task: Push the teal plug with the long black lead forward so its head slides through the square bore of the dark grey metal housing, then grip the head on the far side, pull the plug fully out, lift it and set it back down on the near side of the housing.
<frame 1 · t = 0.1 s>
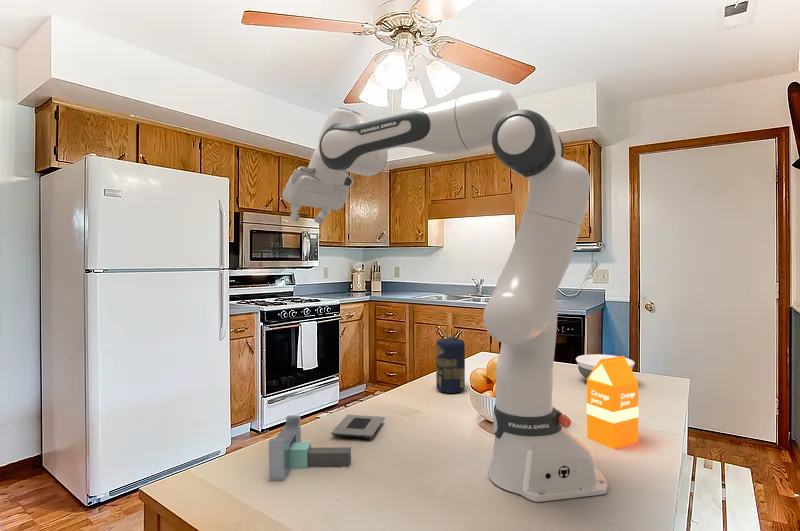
hand: (306, 221, 120), 54 cm above the table, tool tilted 30°, fingers open, 8 cm apart
plug: (300, 464, 101), on the table
housing: (286, 463, 101), on the table
electrical outlet: (359, 433, 120), on the table
bowl: (604, 384, 161), on the table
orange juice: (612, 440, 112), on the table
canister: (450, 391, 155), on the table
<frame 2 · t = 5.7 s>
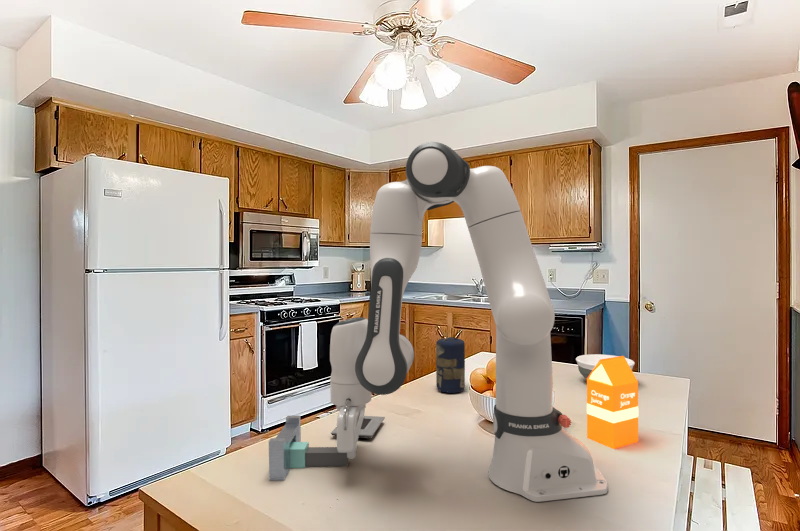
hand: (351, 455, 101), 2 cm above the table, tool pointing down, fingers closed, pressing on plug
plug: (297, 463, 101), on the table, touching gripper
everything else where it was.
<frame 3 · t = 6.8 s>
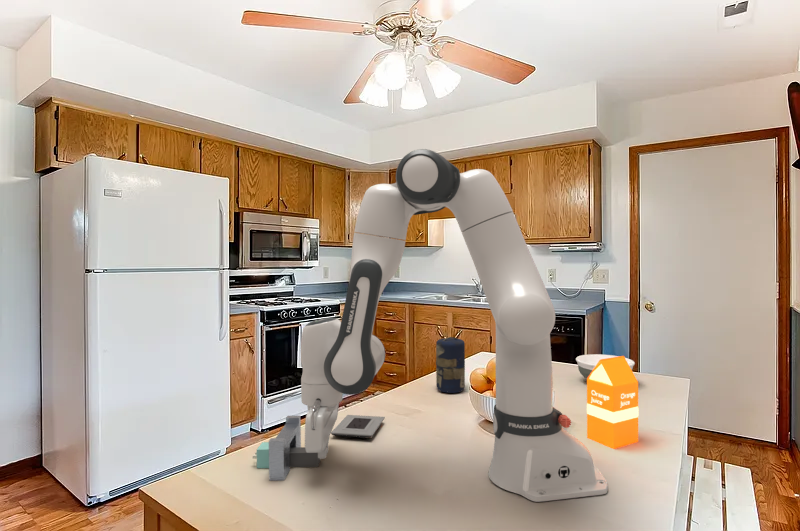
hand: (323, 455, 101), 2 cm above the table, tool pointing down, fingers closed, pressing on plug
plug: (268, 464, 101), on the table, touching gripper
everything else where it was.
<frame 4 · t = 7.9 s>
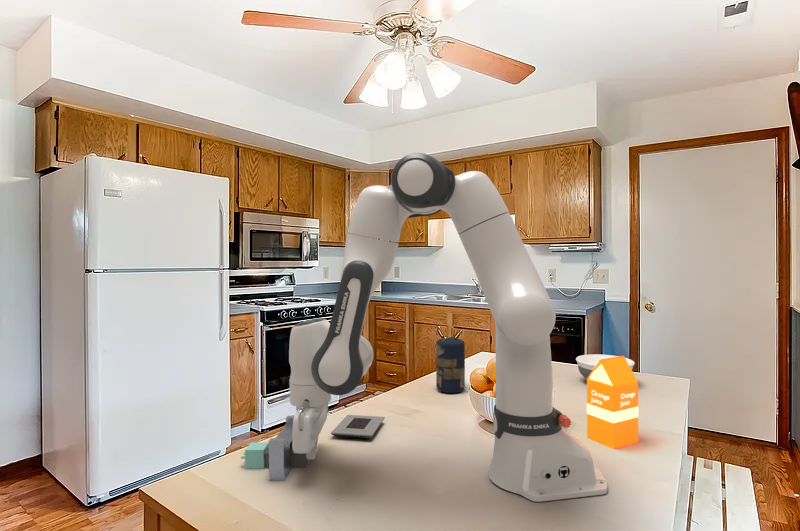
hand: (311, 456, 101), 2 cm above the table, tool pointing down, fingers closed, pressing on plug
plug: (257, 464, 101), on the table, touching gripper
everything else where it was.
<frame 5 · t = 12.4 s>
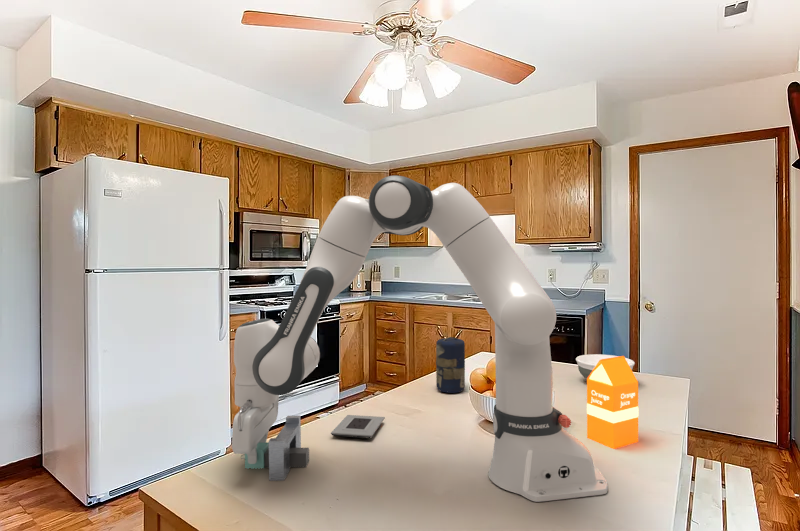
hand: (257, 456, 101), 2 cm above the table, tool pointing down, fingers closed on plug, 4 cm apart
plug: (257, 464, 101), on the table, touching gripper
everything else where it was.
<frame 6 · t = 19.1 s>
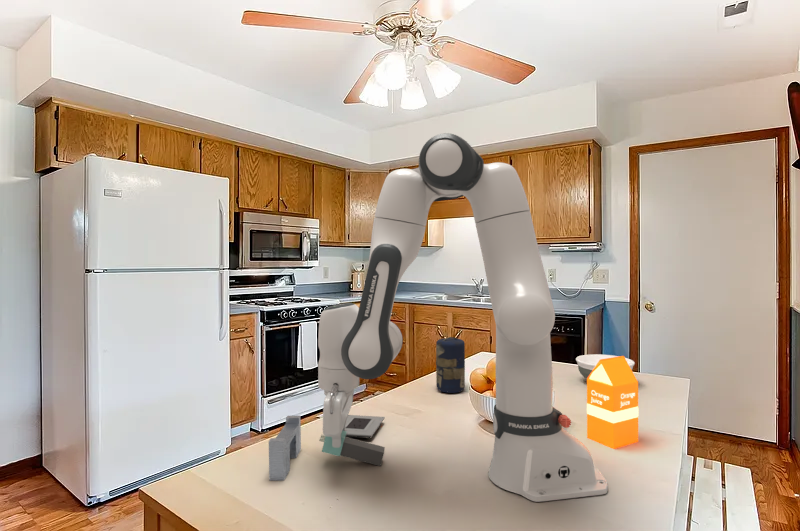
hand: (338, 441, 101), 5 cm above the table, tool pointing down, fingers closed on plug, 4 cm apart
plug: (332, 450, 101), point 3 cm above the table, tilted 15°, touching gripper
everything else where it was.
when the fingers open (2 cm above the table, at t = 20.1 s): plug stays where it is, on the table.
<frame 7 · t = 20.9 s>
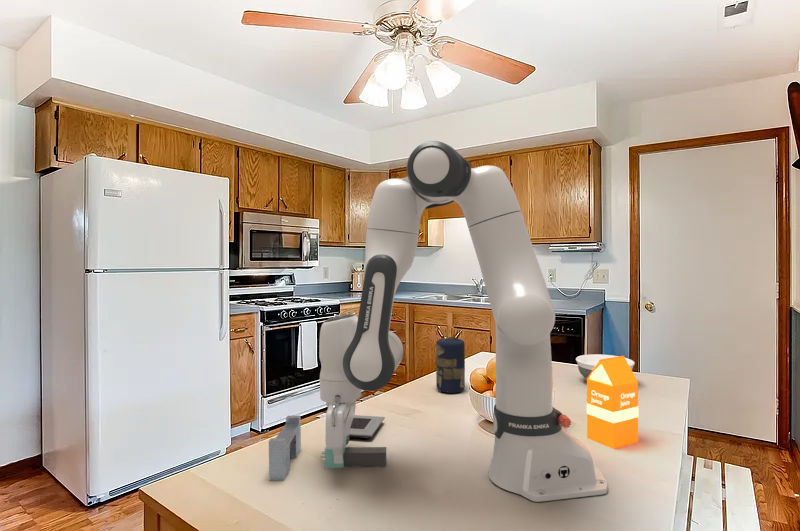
hand: (342, 452, 101), 2 cm above the table, tool pointing down, fingers open, 8 cm apart
plug: (335, 463, 101), on the table
everything else where it was.
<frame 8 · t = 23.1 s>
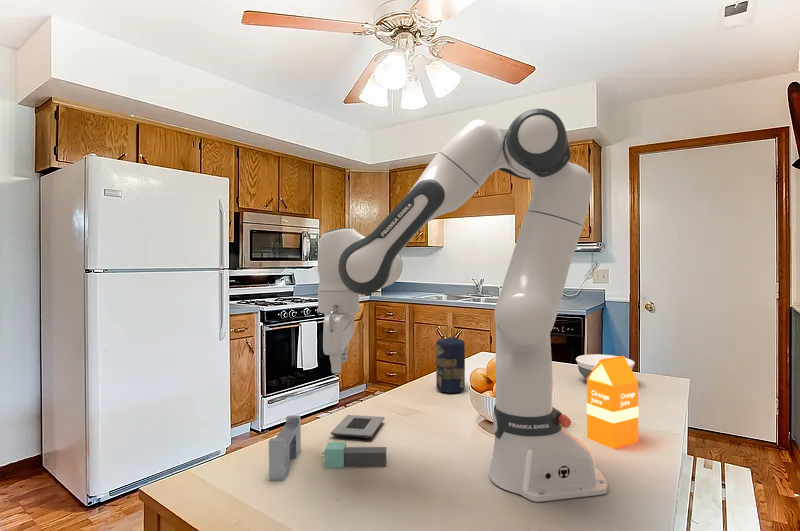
hand: (339, 367, 101), 21 cm above the table, tool pointing down, fingers open, 8 cm apart
nothing on the table moved.
at the end: plug inside the target area (1.0 cm from its centre), on the table; the gripper is holding nothing; plug tilted 0° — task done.
